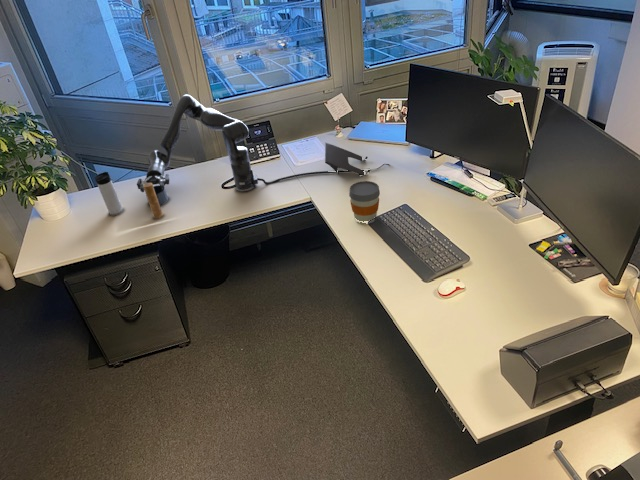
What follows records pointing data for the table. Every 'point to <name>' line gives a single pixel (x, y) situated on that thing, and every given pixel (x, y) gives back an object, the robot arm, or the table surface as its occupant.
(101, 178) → the travel mug
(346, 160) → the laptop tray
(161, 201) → the pen cup
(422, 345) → the table surface
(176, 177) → the table surface
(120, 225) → the table surface
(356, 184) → the reusable coffee cup
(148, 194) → the wooden rod
